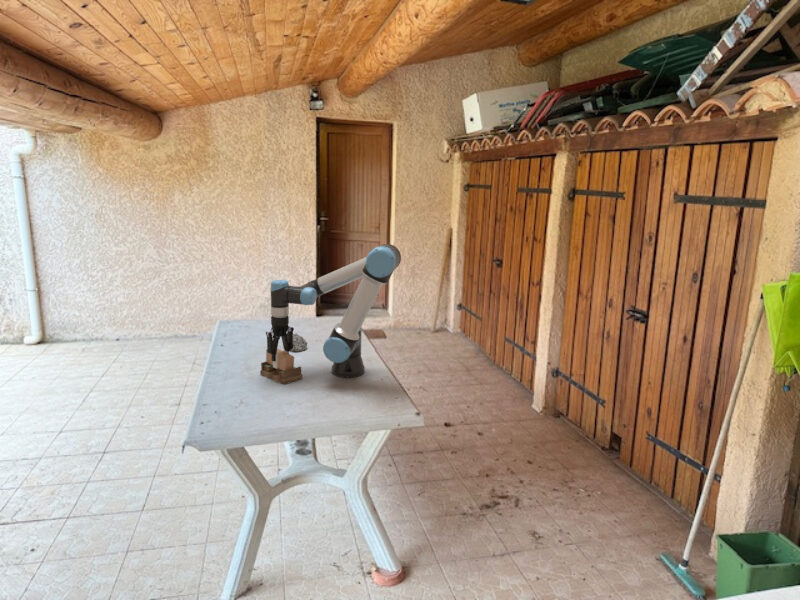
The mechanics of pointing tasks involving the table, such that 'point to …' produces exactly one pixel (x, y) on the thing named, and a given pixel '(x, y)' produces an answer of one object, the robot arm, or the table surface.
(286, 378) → the stand
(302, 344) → the rock
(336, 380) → the table surface
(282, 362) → the tan rectangular block
